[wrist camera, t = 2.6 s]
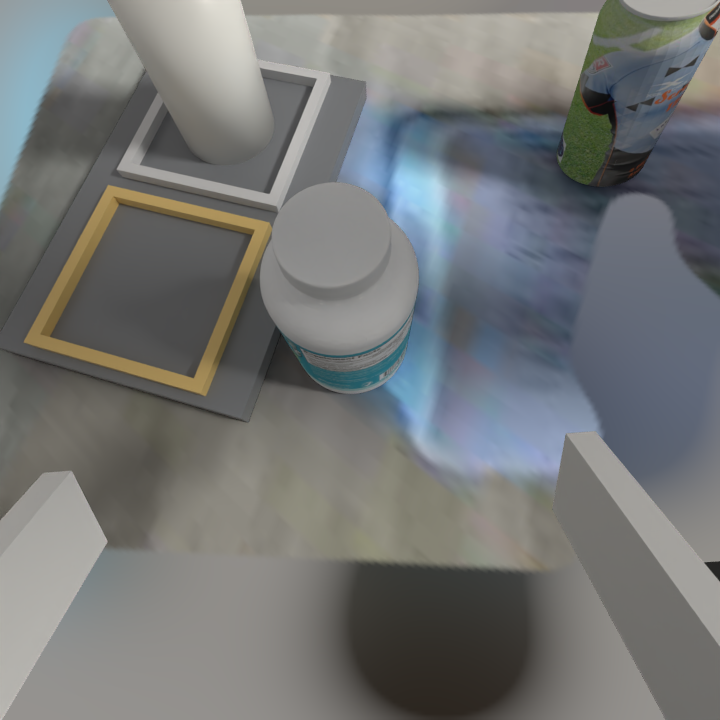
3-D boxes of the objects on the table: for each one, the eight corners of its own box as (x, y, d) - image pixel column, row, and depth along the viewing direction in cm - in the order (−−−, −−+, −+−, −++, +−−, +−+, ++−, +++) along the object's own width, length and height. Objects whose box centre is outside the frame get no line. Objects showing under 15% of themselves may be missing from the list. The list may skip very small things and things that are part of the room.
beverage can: (620, 209, 32) (757, 49, 20) (524, 175, 33) (602, 6, 21) (644, 146, 33) (784, -36, 22) (552, 116, 34) (638, -72, 23)
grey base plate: (366, 98, 36) (365, 72, 33) (248, 422, 28) (237, 416, 26) (169, 60, 38) (156, 34, 36) (11, 352, 30) (-18, 341, 28)
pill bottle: (305, 291, 31) (252, 146, 18) (409, 298, 30) (432, 154, 17) (291, 393, 29) (219, 312, 16) (402, 402, 28) (423, 327, 15)
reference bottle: (288, 101, 34) (229, -152, 21) (256, 175, 32) (169, -52, 19) (204, 85, 35) (96, -168, 21) (169, 155, 33) (26, -75, 20)
